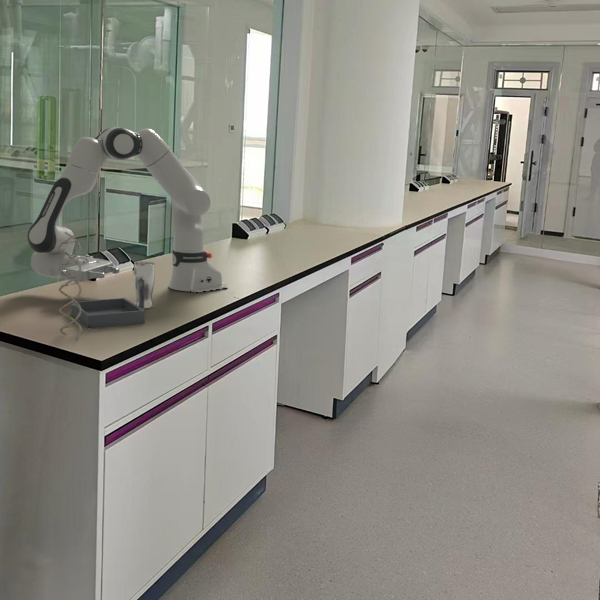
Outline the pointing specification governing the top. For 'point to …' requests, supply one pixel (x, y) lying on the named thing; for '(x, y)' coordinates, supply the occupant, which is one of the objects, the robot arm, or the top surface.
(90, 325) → the box
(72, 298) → the dna model
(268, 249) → the top surface
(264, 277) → the top surface
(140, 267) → the beer glass
